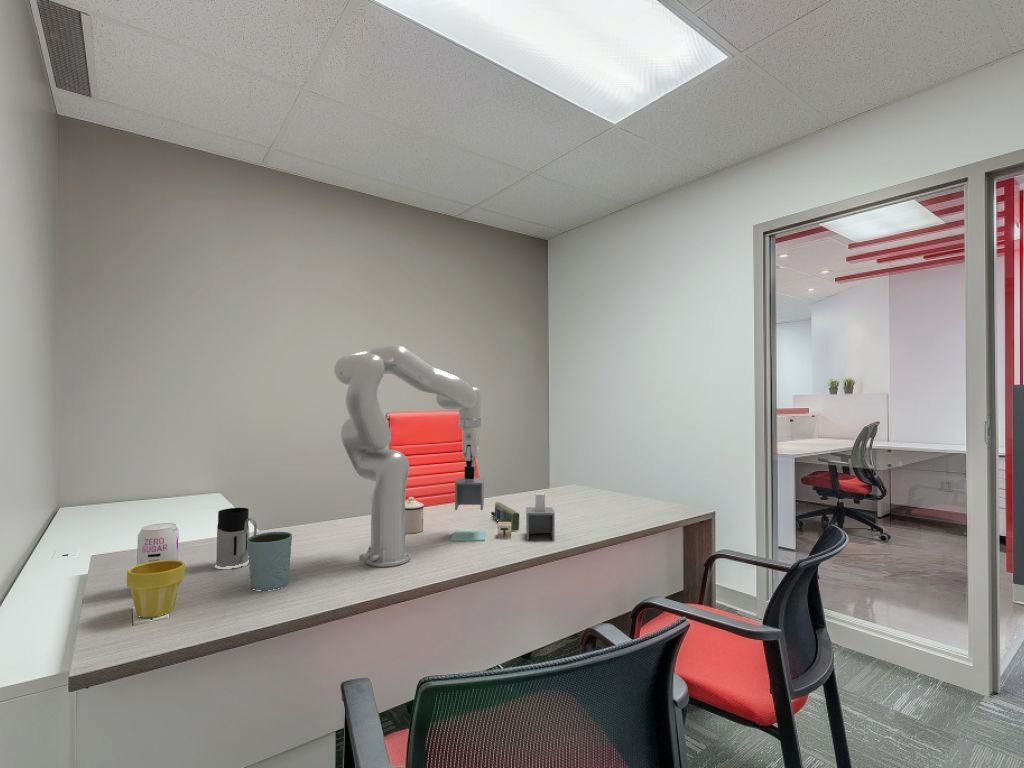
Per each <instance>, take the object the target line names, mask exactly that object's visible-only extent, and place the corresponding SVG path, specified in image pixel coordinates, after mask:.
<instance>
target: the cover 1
mask: <svg viewBox="0 0 1024 768" xmlns="http://www.w3.org/2000/svg"><path fill="white" fill-rule="evenodd" d="M473 467H474V479H465V477H463V478H461V477H460V478H457V479H456V480H455V482H454V511H458V509H459V507H460V506H465V505H466V506H468V505H469V506H470V505H473V506H477V505H478V506H480V511H483V509H484V505H485V503H484V502H485V500H484V499H485V493H484V492H485V491H484V490H485V489H484V488H485V484H484V483H485V478H484V477H483V478H481V477H480V478H478V477H476V465H475V463H474V464H473Z"/></svg>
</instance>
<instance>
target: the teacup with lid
mask: <svg viewBox="0 0 1024 768" xmlns="http://www.w3.org/2000/svg"><path fill="white" fill-rule="evenodd" d="M424 505H425V504H424V503H422V502H419V501H417V500H416V499H415V497H414V496H409V497H408V498H407V500H405V535H410V534H411V535H414V534H417V533H418V534H419V533H421V532H423V531H424V508H425V506H424Z"/></svg>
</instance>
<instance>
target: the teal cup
mask: <svg viewBox="0 0 1024 768" xmlns="http://www.w3.org/2000/svg"><path fill="white" fill-rule="evenodd" d="M253 535H254V534H253ZM253 535H252V536H249V538H248V539H247V547H248V558H249V564H248V566H249V567H248V569H249V576H250V577H249V578H250V588H252V589H255V590H261V591H260V592H263V591H264V592H269V591H268V590H273V589H277V590H279V589H278V588H280V589H282V588H281V587H283V588H285V587H287V586H288V585H289V582H290V571H291V569H290V566H291V554H292V548H291V547H292V540H293V534H292V533H291V532H287V531H268V532H263V533H257V534H256V535H254V536H253ZM287 584H288V585H287ZM286 585H287V586H286ZM284 586H285V587H284ZM252 589H251V590H252ZM273 591H274V590H273Z"/></svg>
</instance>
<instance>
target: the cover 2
mask: <svg viewBox="0 0 1024 768" xmlns="http://www.w3.org/2000/svg"><path fill="white" fill-rule="evenodd" d="M534 503H535V507H533V506H532V507H530V506H529V507H528V506H527V507H526V510H525V511H526V512H525V514H526V517H525V518H526V519H525V521H526V522H525V523H526V525H525V528H526V529H525V533H526V535H527V536H526V541H527V540H529V541H530V534H529V533H551V534H550V536H552V537H551V540H552V539H553V540H554V541H555V528H556V527H555V510H554V509H553V507H552V506H551V507H547V506H546V493H545V492H535V502H534ZM553 540H552V541H553Z"/></svg>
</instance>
